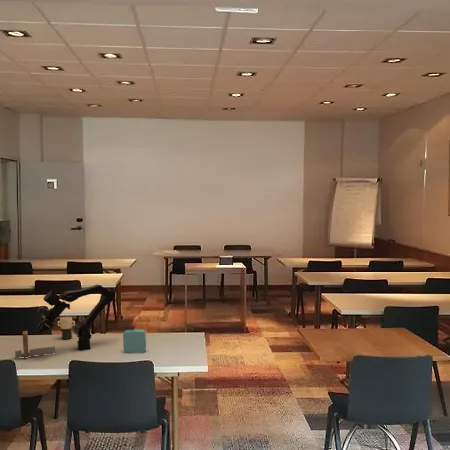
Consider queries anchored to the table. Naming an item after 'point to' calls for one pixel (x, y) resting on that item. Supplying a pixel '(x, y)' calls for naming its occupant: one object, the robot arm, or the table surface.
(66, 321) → the character mug
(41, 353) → the grey crossbar
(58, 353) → the table surface
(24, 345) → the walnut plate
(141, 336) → the teal square block
